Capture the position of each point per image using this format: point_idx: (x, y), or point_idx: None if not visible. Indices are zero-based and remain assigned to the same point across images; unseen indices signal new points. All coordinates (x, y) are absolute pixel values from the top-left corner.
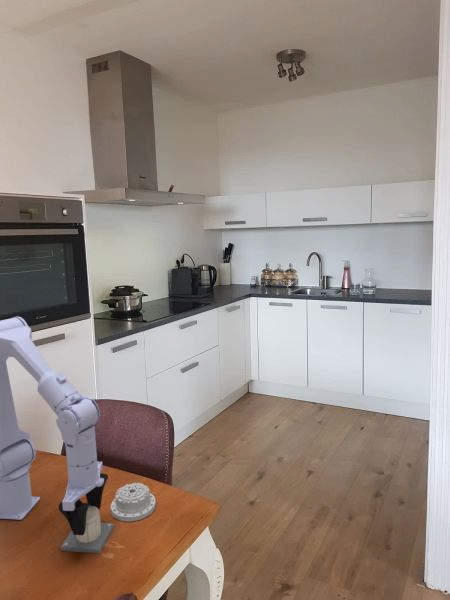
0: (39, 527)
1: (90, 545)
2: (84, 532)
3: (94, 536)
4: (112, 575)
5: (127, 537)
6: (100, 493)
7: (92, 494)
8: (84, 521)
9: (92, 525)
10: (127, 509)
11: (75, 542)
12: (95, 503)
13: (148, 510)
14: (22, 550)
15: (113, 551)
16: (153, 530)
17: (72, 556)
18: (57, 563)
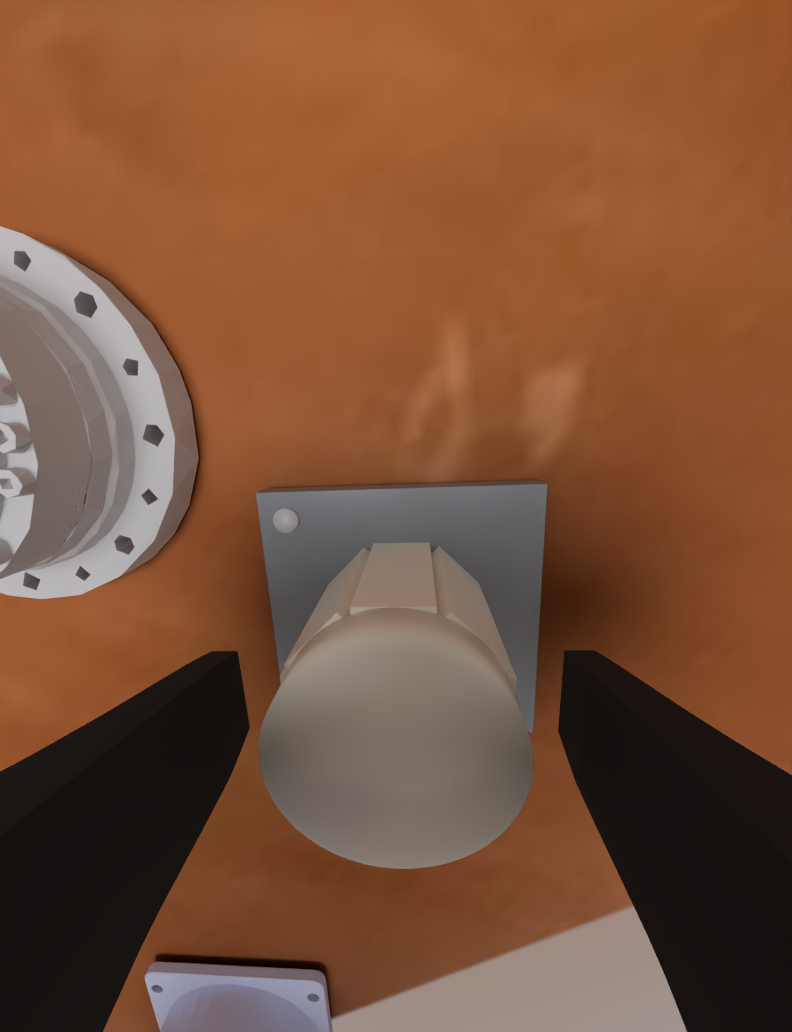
0: (357, 878)
1: (507, 562)
2: (577, 654)
3: (452, 566)
4: (760, 288)
5: (355, 341)
6: (43, 813)
7: (104, 892)
8: (739, 760)
9: (474, 622)
10: (96, 424)
11: None
12: (194, 736)
13: (32, 244)
14: (534, 880)
15: (511, 388)
16: (237, 139)
17: (570, 632)
18: None
